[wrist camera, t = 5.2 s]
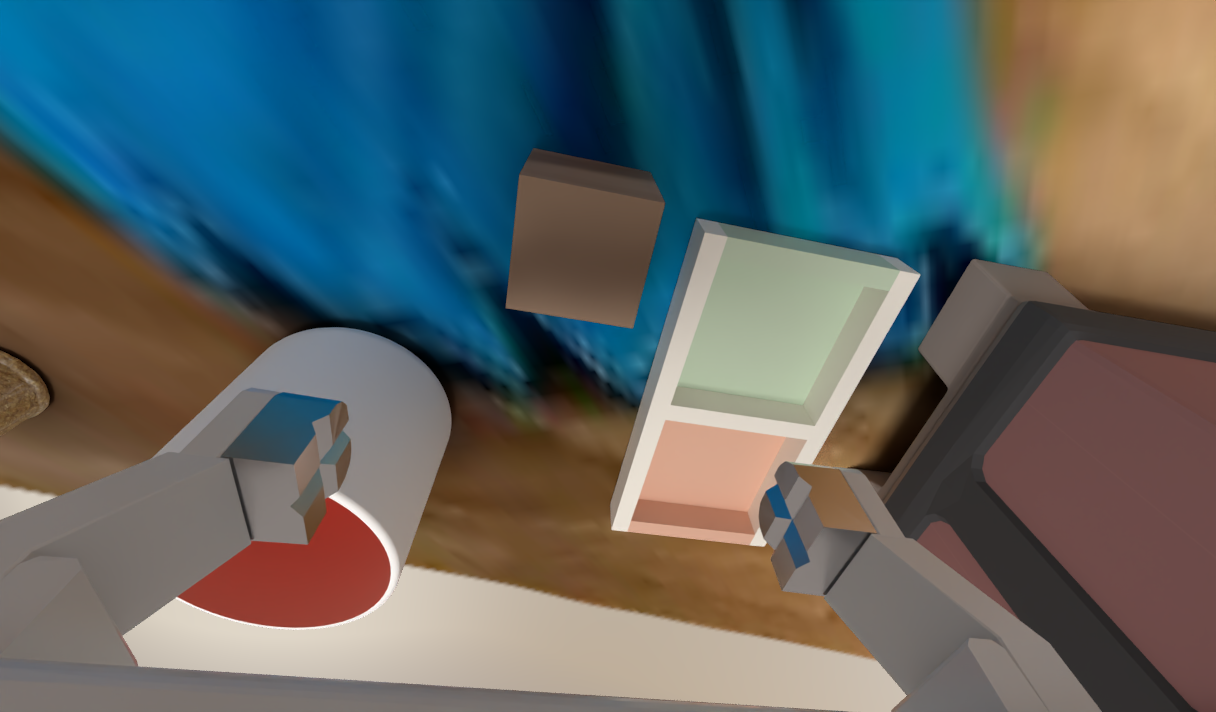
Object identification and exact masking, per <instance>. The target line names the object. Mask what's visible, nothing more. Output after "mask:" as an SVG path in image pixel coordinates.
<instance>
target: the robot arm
mask: <svg viewBox="0 0 1216 712" xmlns="http://www.w3.org/2000/svg"><path fill="white" fill-rule="evenodd" d="M348 420H349V416H348V409H347V405H346V404H345V403H344V402H342V401H337V400H331V399H324V398H318V397H311V396H305V395H299V394H292V393H286V392H282V393H281V392H276V391H270V390H263V389H257V388H249V389H246V390H243V391H241V392H240V393H239V394H238V395H237V396H236V397H235V398H234V399H233V400H232V401H231V402H230V403H229V404H228V405H227V406H226V407H225V408H224V409H223V410H222V411H221V412H220V413H219V414H218V415H217V416H216V417H215V418H214V419H213V420H212V421H211V422H210V423H209V424H208V425H207V426H206V427H205V428H204V429H203V430H202V431H201V432H200V433H199V434H198V435H197V436H196V437H195V438H194V439H193V440H192V441H191V442H190V443H189V444H188V445H187V446H186V447H185V448H184V449H183V450H182V451H181V452H180V453H175V452H167V453H164V454H162V455H159V456H157V457H154V458H152V459H149V460H147V461H145V462H142V463H140V464H137V465H135V466H132V467H130V468H127V469H125V470H122V471H120V472H117V473H115V474H113V475H110V476H108V477H105V478H103V479H100V480H98V481H95V482H93V483H90V484H88V485H85V486H83V487H81V488H78V489H76V490H73V491H71V492H68V493H66V494H63V495H61V496H58V497H56V498H53V499H51V500H49V501H46V502H44V503H41V504H39V505H36V506H34V507H31V508H29V509H26V510H24V511H22V512H19V513H17V514H14V515H12V516H9V517H7V518H4V519H2V520H0V712H845V711H830V710H815V709H798V708H784V707H767V706H751V705H737V704H721V703H706V702H690V701H674V700H659V699H642V698H628V697H612V696H595V695H580V694H564V693H548V692H530V691H516V690H499V689H484V688H467V687H451V686H435V685H421V684H405V683H389V682H373V681H357V680H340V679H326V678H309V677H294V676H278V675H262V674H246V673H230V672H215V671H200V670H182V669H168V668H152V667H138V664H137V661H136V659H135V657H134V655H133V654H132V652H131V650H130V648H129V647H128V645H127V643H126V642H125V640H124V638H123V635H124V634H125V633H127V632H128V631H130V630H131V629H132V628H134V627H135V626H137V625H138V624H139V623H141V622H142V621H144V620H145V619H146V618H148V617H149V616H151V615H152V614H153V613H155V612H156V611H158V610H159V609H160V608H162V607H163V606H165V605H166V604H167V603H169V602H170V601H172V600H173V599H175V598H176V597H177V596H179V595H180V594H182V593H183V592H184V591H186V590H187V589H189V588H190V587H191V586H193V585H194V584H196V583H197V582H198V581H200V580H201V579H203V578H204V577H205V576H207V575H208V574H210V573H211V572H212V571H214V570H215V569H217V568H218V567H219V566H221V565H222V564H224V563H225V562H226V561H228V560H229V559H231V558H232V557H233V556H235V555H236V554H238V553H239V552H240V551H242V550H243V549H245V548H246V547H247V546H249V545H250V544H251V541H263V542H277V543H291V544H306V545H308V544H309V542H310V540H311V538H312V537H313V535H314V533H315V531H316V530H317V528H318V526H319V524H320V523H321V521H322V519H323V517H324V516H325V514H326V512H327V511H326V503H325V499H326V498H328V497H329V496H331V495H333V494H334V493H336V492H338V491H339V489H340V487H341V485H342V483H343V481H344V479H345V477H346V474H347V471H348V467H349V464H350V459H351V439H350V438H349V437H348V436H347V434H346V433H345V432H344V431H343V428H344V427H345V425H346V424H347V422H348ZM774 476H775V479H776V482H777V484H776V485H775V486H773V487H771V488H770V489H768V490H767V491H765V494H764V496H763V498H762V500H761V502H760V507H759V516H758V517H759V525H760V530H761V533H762V536H763V539H764V540H765V541H766V542H767V543H768V544H769V545H770V546H771V547H772V548H773V549H774V552H773V555H772V557H771V562H772V564H773V567H774V570H775V573H776V575H777V578H778V581H779V584H780V587H781V589H782V591H787V592H795V593H803V594H811V595H819V596H825V597H824V599H825V600H826V601H827V603H828V604H829V605H830V606H831V607H832V608H833V610H834V611H835V612H836V613H837V614H838V615H839V617H840V618H841V619H842V620H843V621H844V622H845V624H846V625H847V626H848V627H849V628H850V629H851V631H852V632H853V633H854V634H855V635H856V636H857V638H858V639H859V640H860V641H861V642H862V643H863V645H864V646H865V647H866V648H867V649H868V650H869V652H870V653H871V654H872V655H873V656H874V657H875V659H876V660H877V661H878V662H879V663H880V664H881V666H882V667H883V668H884V669H885V670H886V671H887V673H888V674H889V675H890V676H891V677H892V678H893V680H894V681H895V682H896V683H897V684H898V685H899V687H900V688H901V689H902V690H903V691H904V692H905V694H906V695H907V696H906V697H905V698H904V699H903V700H902V701H901V702H900V703H899V704H898V705H897V706H895V707H894V708H893V709H892V711H891V712H1102V711H1101V710H1100V709H1099V707H1098V706H1097V705H1096V703H1095V702H1094V701H1093V699H1092V698H1091V697H1090V695H1089V694H1088V693H1087V692H1086V690H1085V689H1084V688H1083V686H1082V685H1081V684H1080V682H1079V681H1078V680H1077V678H1076V677H1075V676H1074V674H1073V673H1072V672H1071V671H1070V669H1069V668H1068V667H1067V665H1066V664H1065V663H1064V661H1063V660H1062V659H1061V657H1060V656H1059V655H1058V654H1057V652H1056V651H1055V650H1054V648H1053V647H1052V646H1051V644H1050V643H1049V642H1047V641H1046V640H1045V639H1043V638H1042V637H1041V636H1039V635H1038V634H1037V633H1036V632H1034V631H1033V630H1032V629H1030V628H1029V627H1028V626H1026V625H1025V624H1024V623H1022V622H1021V621H1020V620H1019V619H1017V618H1016V617H1015V616H1013V615H1012V614H1011V613H1009V612H1008V611H1007V610H1005V609H1004V608H1003V607H1002V606H1000V605H999V604H998V603H996V602H995V601H994V600H992V599H991V598H990V597H988V596H987V595H986V594H985V593H983V592H982V591H981V590H979V589H978V588H977V587H975V586H974V585H973V584H971V583H970V582H969V581H968V580H966V579H965V578H964V577H962V576H961V575H960V574H958V573H957V572H956V571H954V570H953V569H952V568H951V567H949V566H948V565H947V564H945V563H944V562H943V561H941V560H940V559H939V558H937V557H936V556H935V555H934V554H932V553H931V552H930V551H928V550H927V549H926V548H924V547H923V546H922V545H920V544H919V543H918V542H917V541H915V540H914V539H911V538H905V536H904V535H903V533H902V532H901V530H900V529H899V527H898V526H897V524H896V522H895V521H894V519H893V518H892V516H891V515H890V513H889V512H888V510H887V508H886V507H885V505H884V504H883V502H882V501H881V499H880V498H879V496H878V494H877V493H876V491H875V490H874V488H873V487H872V485H871V484H870V482H869V480H868V479H867V477H866V476H865V475H864V474H863V473H862V472H860V471H859V470H857V469H848V468H839V467H827V466H819V465H812V464H804V463H796V462H788V461H785V462H784V463H782V464H781V465H780V466H779V467H778V469H777V471H776V473H775V475H774Z"/></svg>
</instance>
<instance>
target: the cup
mask: <svg viewBox="0 0 1216 712" xmlns="http://www.w3.org/2000/svg"><path fill="white" fill-rule="evenodd" d="M249 388H257V389H263V390H270V391H276V392H281V393H282V392H286V393H292V394H299V395H305V396H311V397H318V398H324V399H331V400H337V401H342V402H344V403H345V404H346V405H347V409H348V416H349V420H348V422H347V424H346V425H345V427H344V428H343V431H344V432H345V433H346V434H347V436H348V437H349V438H350V439H351V459H350V464H349V467H348V471H347V474H346V477H345V479H344V481H343V483H342V485H341V487H340V489H339V491H338V492H336V493H334V494H333V495H331V496H329V497H328V498H326V499H325V503H326V511H327V512H326V514H325V516H324V517H323V519H322V521H321V523H320V524H319V526H318V528H317V530H316V531H315V533H314V535H313V537H312V538H311V540H310V542H309V544H308V545H306V544H291V543H277V542H263V541H251V544H250V545H249V546H247V547H246V548H245V549H243V550H242V551H240V552H239V553H238V554H236V555H235V556H233V557H232V558H231V559H229V560H228V561H226V562H225V563H224V564H222V565H221V566H219V567H218V568H217V569H215V570H214V571H212V572H211V573H210V574H208V575H207V576H205V577H204V578H203V579H201V580H200V581H198V582H197V583H196V584H194V585H193V586H191V587H190V588H189V589H187V590H186V591H184V592H183V593H182V594H180V595H179V596H177V597H176V599H177V600H179V601H181V602H183V603H185V604H187V605H189V606H192V607H194V608H196V609H199V610H201V611H204V612H206V613H209V614H212V615H215V616H218V617H221V618H224V619H227V620H232V621H235V622H239V623H244V624H248V625H253V626H259V627H266V628H275V629H290V630H294V629H295V630H302V629H319V628H327V627H332V626H338V625H342V624H345V623H348V622H352V621H354V620H357V619H359V618H362V617H364V616H366V615H368V614H370V613H371V612H373V611H375V610H376V609H378V608H379V607H380V606H381V605H382V604H383V603H384V602H386V600H387V599H388V598H389V597H390V596H391V594H392V593H393V592H394V590H395V588H396V586H397V583H398V581H399V578H400V575H401V572H402V570H403V567H404V564H405V561H406V558H407V556H408V553H409V550H410V547H411V544H412V541H413V539H414V536H415V533H416V530H417V527H418V525H419V522H420V519H421V516H422V513H423V511H424V508H425V505H426V502H427V499H428V497H429V494H430V491H431V488H432V485H433V483H434V480H435V477H436V474H437V471H438V468H439V466H440V463H441V460H442V457H443V454H444V452H445V449H446V446H447V443H448V440H449V437H450V432H451V410H450V405H449V401H448V398H447V396H446V393H445V391H444V389H443V387H442V385H441V384H440V382H439V380H438V379H437V377H436V376H435V374H434V373H433V372H432V371H431V370H430V368H429V367H428V366H427V365H426V364H425V363H424V362H423V361H421V360H420V359H419V358H418V357H417V356H416V355H414V354H413V353H412V352H410V351H409V350H407V349H406V348H404V347H402V346H401V345H399V344H397V343H395V342H393V341H391V340H389V339H387V338H384V337H382V336H380V335H377V334H374V333H371V332H367V331H363V330H358V329H352V328H343V327H329V328H315V329H309V330H305V331H301V332H298V333H295V334H292V335H290V336H287V337H285V338H283V339H281V340H280V341H278V342H276V343H275V344H273V345H272V346H270V347H269V348H268V349H267V350H266V351H265V352H263V353H262V354H261V355H260V356H259V357H258V358H257V359H256V360H255V361H254V362H253V363H252V364H251V365H250V366H249V367H248V368H247V369H245V370H244V371H243V372H242V373H241V374H240V375H239V376H238V377H237V378H236V379H235V380H234V381H233V382H232V383H231V384H230V385H229V386H228V387H226V388H225V389H224V390H223V391H222V392H221V393H220V394H219V395H218V396H217V397H216V398H215V399H214V400H213V401H212V402H211V403H210V404H209V405H207V406H206V407H205V408H204V409H203V410H202V411H201V412H200V413H199V414H198V415H197V416H196V417H195V418H194V419H193V420H192V421H191V422H190V423H188V424H187V425H186V426H185V427H184V428H183V429H182V430H181V431H180V432H179V433H178V434H177V435H176V436H175V437H174V438H173V439H172V440H171V441H170V442H168V443H167V444H166V445H165V446H164V447H163V448H162V449H161V450H160V451H159V452H158V453H157V454H156V455H155V456H154V457H157V456H159V455H162V454H164V453H167V452H175V453H180V452H181V451H182V450H183V449H184V448H185V447H186V446H187V445H188V444H189V443H190V442H191V441H192V440H193V439H194V438H195V437H196V436H197V435H198V434H199V433H200V432H201V431H202V430H203V429H204V428H205V427H206V426H207V425H208V424H209V423H210V422H211V421H212V420H213V419H214V418H215V417H216V416H217V415H218V414H219V413H220V412H221V411H222V410H223V409H224V408H225V407H226V406H227V405H228V404H229V403H230V402H231V401H232V400H233V399H234V398H235V397H236V396H237V395H238V394H239V393H240V392H241V391H243V390H246V389H249ZM154 457H153V458H154Z"/></svg>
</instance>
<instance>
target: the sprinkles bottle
mask: <svg viewBox="0 0 1216 712" xmlns="http://www.w3.org/2000/svg"><path fill="white" fill-rule="evenodd" d="M49 400H50V396H49V394H48V389H47V387H46V384H45V383H44V382H43V381H42V379H41V377H40V376H39V375H38V374H37V373H36V372H35V371H34V370H33V369H31V368H30V367H28V366H27V365H26V364H24V363H23V362H22V361H21V360H19V359H17V358H15V357H12V356H11V355H9V354H7V353H5V352H2V351H0V436H2V435H3V434H5V433H6V432H8V431H10V430H11V429H12V428H14V427H16V426H17V425H18V424H20V423H21V422H23V421H24V420H26V419H29V418H32V417H34V416H37V415H38V414H40V413H41V412H42V411H44V410H45V409H46V408H47V407H48V405H49Z"/></svg>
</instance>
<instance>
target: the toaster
mask: <svg viewBox="0 0 1216 712" xmlns="http://www.w3.org/2000/svg"><path fill="white" fill-rule="evenodd" d="M918 350H919V352H920V353H921V354H922V355H923V357H924V358H925V359H926V360H927V362H928V363H929V364H930V365H931V367H932V368H933V369H934V371H935V372H936V373H937V374H938V376H939V377H940V378H941V379H942V381H943V382H944V383H945V384H946V386H947V388H948V390H947V392H946V394H945V395H944V397H943V398H942V400H941V401H940V403H939V404H938V406H937V407H936V409H935V410H934V412H933V413H932V415H931V416H930V418H929V419H928V421H927V422H926V424H925V425H924V426H923V428H922V429H921V431H920V432H919V434H918V435H917V437H916V438H915V440H914V441H913V443H912V444H911V446H910V447H909V449H908V450H907V452H906V453H905V455H904V456H903V458H902V459H901V460H900V462H899V463H898V465H897V466H896V468H895V469H894V471H893V472H892V473H888V472H880V471H871V470H863V469H857V470H859V471H860V472H862V473H863V474H864V475H865V476H866V477H867V479H868V480H869V482H870V484H871V485H872V487H873V488H874V490H875V491H876V493H877V494H878V496H879V498H880V499H881V501H882V502H883V504H884V505H885V507H886V508H887V510H888V512H889V513H890V515H891V516H892V518H893V519H894V521H895V522H896V524H897V526H898V527H899V529H900V530H901V532H902V533H903V535H904V536H905V538H911V539H914V540H915V541H917V542H918V543H919V544H920V545H922V546H923V547H924V548H926V549H927V550H928V551H930V552H931V553H932V554H934V555H935V556H936V557H937V558H939V559H940V560H941V561H943V562H944V563H945V564H947V565H948V566H949V567H951V568H952V569H953V570H954V571H956V572H957V573H958V574H960V575H961V576H962V577H964V578H965V579H966V580H968V581H969V582H970V583H971V584H973V585H974V586H975V587H977V588H978V589H979V590H981V591H982V592H983V593H985V594H986V595H987V596H988V597H990V598H991V599H992V600H994V601H995V602H996V603H998V604H999V605H1000V606H1002V607H1003V608H1004V609H1005V610H1007V611H1008V612H1009V613H1011V614H1012V615H1013V616H1015V617H1016V618H1017V619H1019V620H1020V621H1021V622H1022V623H1024V624H1025V625H1026V626H1028V627H1029V628H1030V629H1032V630H1033V631H1034V632H1036V633H1037V634H1038V635H1039V636H1041V637H1042V638H1043V639H1045V640H1046V641H1047V642H1049V643H1050V644H1051V646H1052V647H1053V648H1054V650H1055V651H1056V652H1057V654H1058V655H1059V656H1060V657H1061V659H1062V660H1063V661H1064V663H1065V664H1066V665H1067V667H1068V668H1069V669H1070V671H1071V672H1072V673H1073V674H1074V676H1075V677H1076V678H1077V680H1078V681H1079V682H1080V684H1081V685H1082V686H1083V688H1084V689H1085V690H1086V692H1087V693H1088V694H1089V695H1090V697H1091V698H1092V699H1093V701H1094V702H1095V703H1096V705H1097V706H1098V707H1099V709H1100V710H1101V711H1102V712H1216V332H1213V331H1207V330H1202V329H1196V328H1190V327H1184V326H1178V325H1172V324H1167V323H1161V322H1155V321H1149V320H1143V319H1138V318H1132V317H1126V316H1120V315H1114V314H1109V313H1103V312H1097V311H1093V310H1089V309H1088V308H1086V307H1085V306H1084V305H1083V304H1082V303H1081V302H1080V301H1079V300H1077V299H1076V298H1075V297H1074V296H1073V295H1072V294H1071V293H1070V292H1068V291H1067V290H1066V289H1065V288H1064V287H1063V286H1062V285H1061V284H1060V283H1058V282H1057V281H1056V280H1055V279H1054V278H1053V277H1052V276H1051V275H1049V274H1048V273H1047V272H1043V271H1038V270H1032V269H1026V268H1021V267H1015V266H1010V265H1004V264H999V263H993V262H988V261H982V260H977V259H973V260H972V261H971V262H970V264H969V266H968V267H967V269H966V270H965V272H964V274H963V275H962V277H961V279H960V280H959V282H958V284H957V285H956V287H955V289H954V290H953V292H952V294H951V295H950V297H949V298H948V300H947V302H946V303H945V305H944V307H943V308H942V310H941V312H940V313H939V315H938V317H937V318H936V320H935V321H934V323H933V325H932V326H931V328H930V330H929V331H928V333H927V335H926V336H925V338H924V340H923V341H922V343H921V345H920V346H919V348H918ZM848 469H855V468H848Z"/></svg>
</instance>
